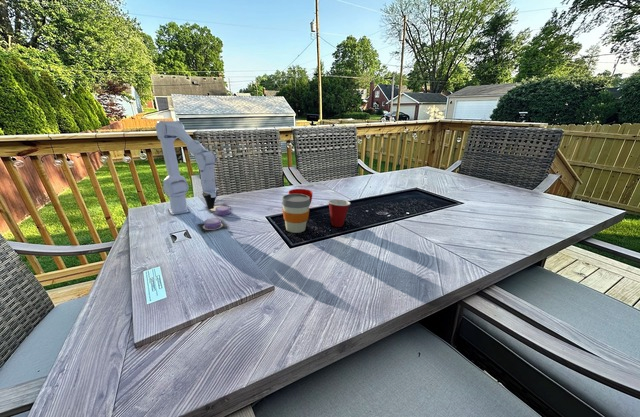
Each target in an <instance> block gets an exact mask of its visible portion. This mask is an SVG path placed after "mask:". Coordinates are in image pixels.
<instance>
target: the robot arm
mask: <svg viewBox="0 0 640 417" xmlns="http://www.w3.org/2000/svg"><path fill="white" fill-rule="evenodd" d="M155 131H156V136H157V139H158V140H159V141H160V145H161V150H162V155H163V159H164V164H165V168H166V174H167V176H166V177H165V178H164V179H163V182H162V183H163V185H162V186H163V188H162V190H163V192H164V194H165V195H166V196H168V198H169V199H168V200H169V206H170V207H169V208H168V211H169V213H170V214H171V215H172V216H174V215H180V214H187V213H190V210H189V209H188V206H187V196H186V195H187V192H188V191H189V184H188V182H187V179H186V177H185V176H183V175H181V172H180V167H179V163H178V162H179V161H178V158H177V153H176V148H175V141H176V140H177V139H179V140H180V141H181V142H182V143H183V144H185V145H186V149H187V150H188V152H189V153H190V154H191V155H192V156H193V157H194V158H195V162H196V164H197V167H198V170H199V173H200V183H201V192H202V193H201V195H202V197H203V198H204V200H205V204H206V207H208V209H213V208H214V206H215V202H216V199H217V197H218V194H217V191H219V190H220V189H219V187H216V174H215V164H216V163H217V155H216V154H215V153H214V151H212V150H208V149H206V148H205V147H204V146H203V145H202V143H201V142H200V141H199V140H196V139H193V138H192V137H191V136H190V135H189V133H188V131H186V129H185V125H184V124H183V123H182V121H181V120H158V121H157V122H156V124H155ZM208 209H207V210H208Z"/></svg>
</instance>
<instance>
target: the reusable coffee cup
mask: <svg viewBox="0 0 640 417" xmlns="http://www.w3.org/2000/svg"><path fill="white" fill-rule="evenodd" d="M281 204H282V217H283V220H284V224H285V231H287V232H289V233H294V234H297V233H298V234H300V233H302V232H305V231H306V228H307V224H308V223H307V222H308V220H309V216H310V206H311V204H310V197H309V196H307V195H304V194H289V193H287V194H284V195H283V196H282V200H281ZM309 205H310V206H309Z"/></svg>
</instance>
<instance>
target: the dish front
mask: <svg viewBox="0 0 640 417" xmlns="http://www.w3.org/2000/svg"><path fill="white" fill-rule="evenodd" d="M221 221H222V220H221V219H220V218H217V217H211V218H207V219H205V220H204V221H203V224H204V226H205V228H206V229H217V228H219V227H221Z"/></svg>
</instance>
